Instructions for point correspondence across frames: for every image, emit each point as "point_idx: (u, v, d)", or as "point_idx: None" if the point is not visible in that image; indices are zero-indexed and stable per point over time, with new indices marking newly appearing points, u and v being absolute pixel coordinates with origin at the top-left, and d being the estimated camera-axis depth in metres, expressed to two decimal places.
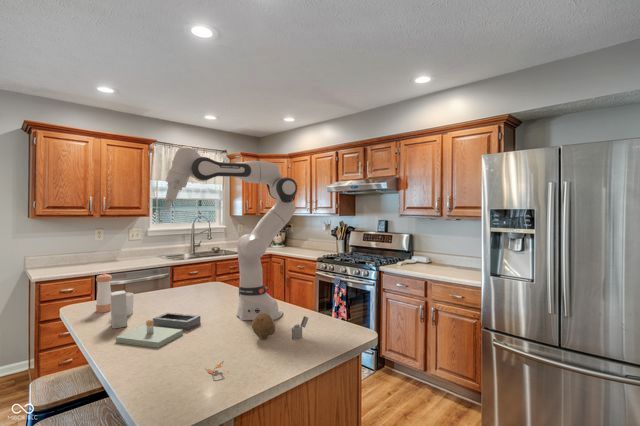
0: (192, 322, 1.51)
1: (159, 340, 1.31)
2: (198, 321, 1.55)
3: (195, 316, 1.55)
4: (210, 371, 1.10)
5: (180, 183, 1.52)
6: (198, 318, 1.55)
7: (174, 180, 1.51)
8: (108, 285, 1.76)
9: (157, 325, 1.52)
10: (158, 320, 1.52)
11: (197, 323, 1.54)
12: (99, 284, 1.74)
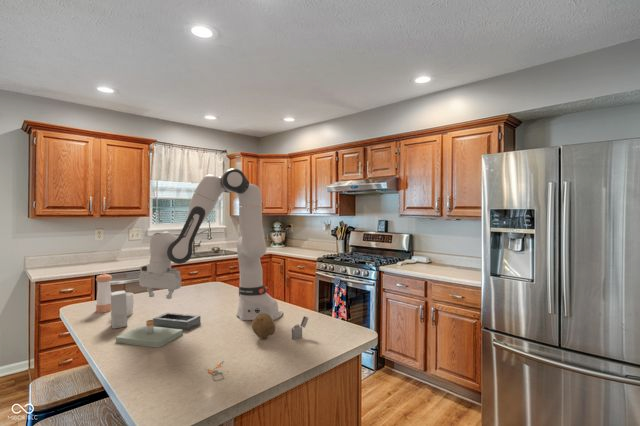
0: (192, 322, 1.51)
1: (159, 340, 1.31)
2: (198, 321, 1.55)
3: (195, 316, 1.55)
4: (210, 371, 1.10)
5: None
6: (198, 318, 1.55)
7: (166, 269, 1.54)
8: (108, 285, 1.76)
9: (157, 325, 1.52)
10: (158, 320, 1.52)
11: (197, 323, 1.54)
12: (99, 284, 1.74)
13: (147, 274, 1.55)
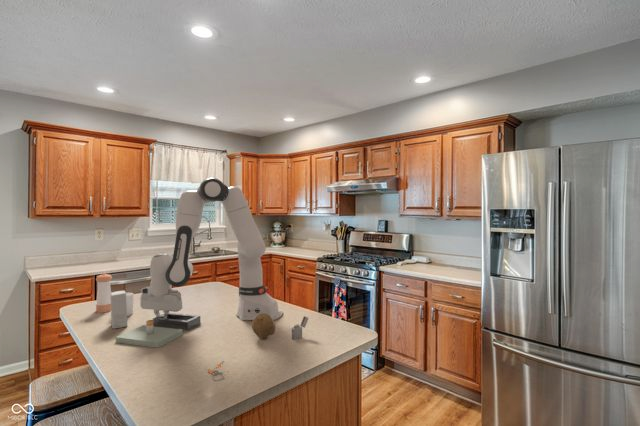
0: (192, 322, 1.51)
1: (159, 340, 1.31)
2: (198, 321, 1.55)
3: (195, 316, 1.55)
4: (210, 371, 1.10)
5: None
6: (198, 318, 1.55)
7: (167, 291, 1.54)
8: (108, 285, 1.76)
9: (157, 325, 1.52)
10: (158, 320, 1.52)
11: (197, 323, 1.54)
12: (99, 284, 1.74)
13: (148, 296, 1.56)
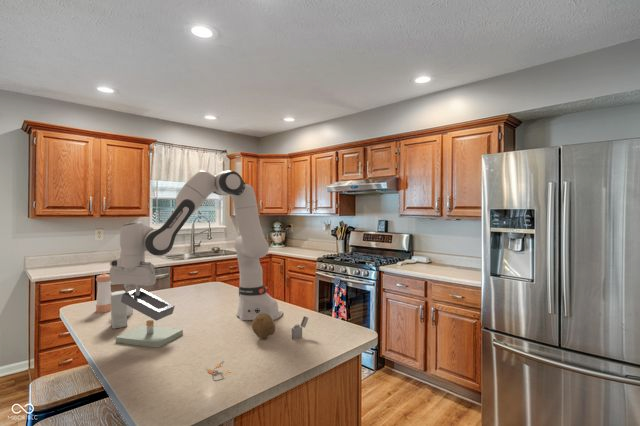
0: (164, 312, 1.36)
1: (159, 340, 1.31)
2: (170, 311, 1.40)
3: (169, 305, 1.40)
4: (210, 371, 1.10)
5: None
6: (171, 308, 1.40)
7: (139, 263, 1.39)
8: (108, 285, 1.76)
9: (126, 302, 1.36)
10: (128, 297, 1.36)
11: (169, 313, 1.39)
12: (99, 284, 1.74)
13: (118, 269, 1.40)
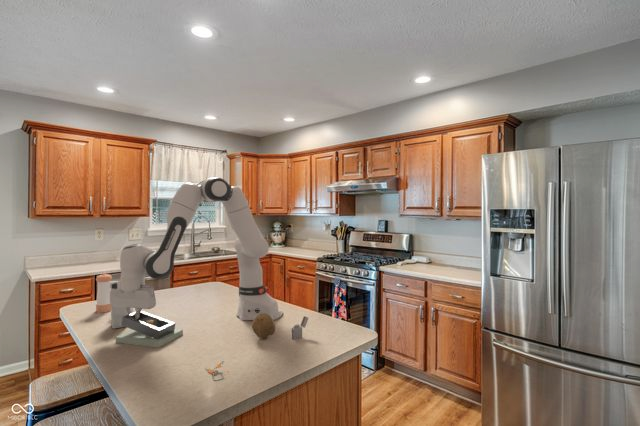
0: (165, 330, 1.36)
1: (159, 340, 1.31)
2: (172, 329, 1.39)
3: (170, 323, 1.40)
4: (210, 371, 1.10)
5: None
6: (172, 326, 1.39)
7: (139, 286, 1.39)
8: (108, 285, 1.76)
9: (126, 325, 1.36)
10: (128, 320, 1.36)
11: (170, 331, 1.39)
12: (99, 284, 1.74)
13: (118, 292, 1.40)
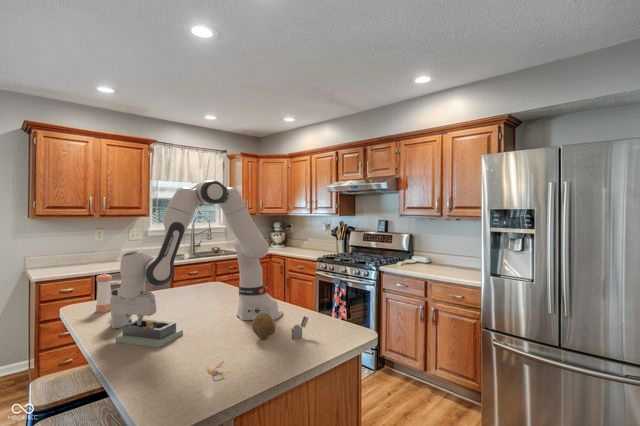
0: (166, 330, 1.36)
1: (159, 340, 1.31)
2: (173, 329, 1.39)
3: (170, 323, 1.40)
4: (210, 371, 1.10)
5: None
6: (173, 325, 1.39)
7: (139, 293, 1.39)
8: (108, 285, 1.76)
9: (127, 333, 1.36)
10: (128, 328, 1.36)
11: (172, 331, 1.39)
12: (99, 284, 1.74)
13: (118, 299, 1.40)
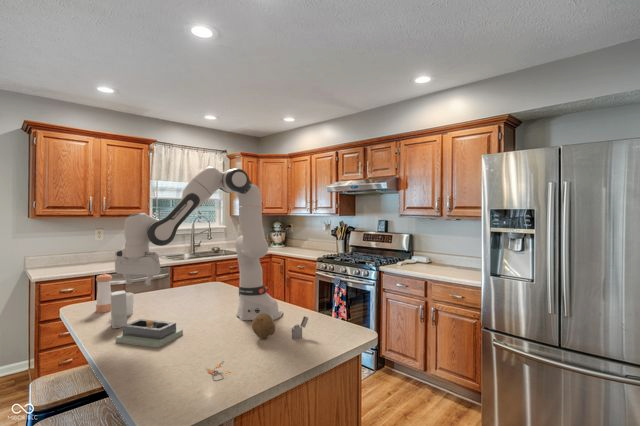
0: (166, 330, 1.36)
1: (159, 340, 1.31)
2: (173, 329, 1.39)
3: (170, 323, 1.40)
4: (210, 371, 1.10)
5: None
6: (173, 325, 1.39)
7: (143, 253, 1.42)
8: (108, 285, 1.76)
9: (127, 333, 1.36)
10: (128, 328, 1.36)
11: (172, 331, 1.39)
12: (99, 284, 1.74)
13: (123, 259, 1.44)
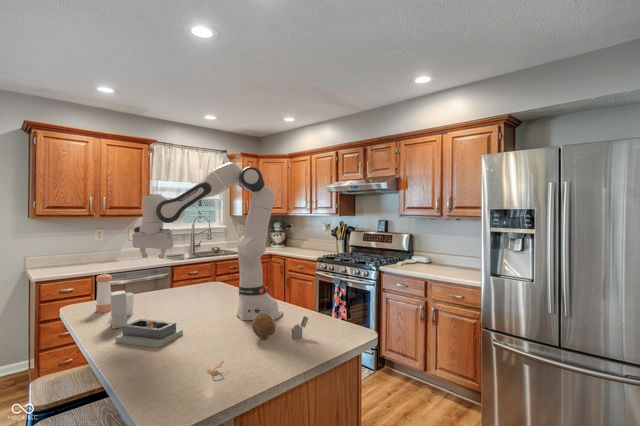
0: (166, 330, 1.36)
1: (159, 340, 1.31)
2: (173, 329, 1.39)
3: (170, 323, 1.40)
4: (210, 371, 1.10)
5: None
6: (173, 325, 1.39)
7: (158, 229, 1.58)
8: (108, 285, 1.76)
9: (127, 333, 1.36)
10: (128, 328, 1.36)
11: (172, 331, 1.39)
12: (99, 284, 1.74)
13: (140, 235, 1.60)
